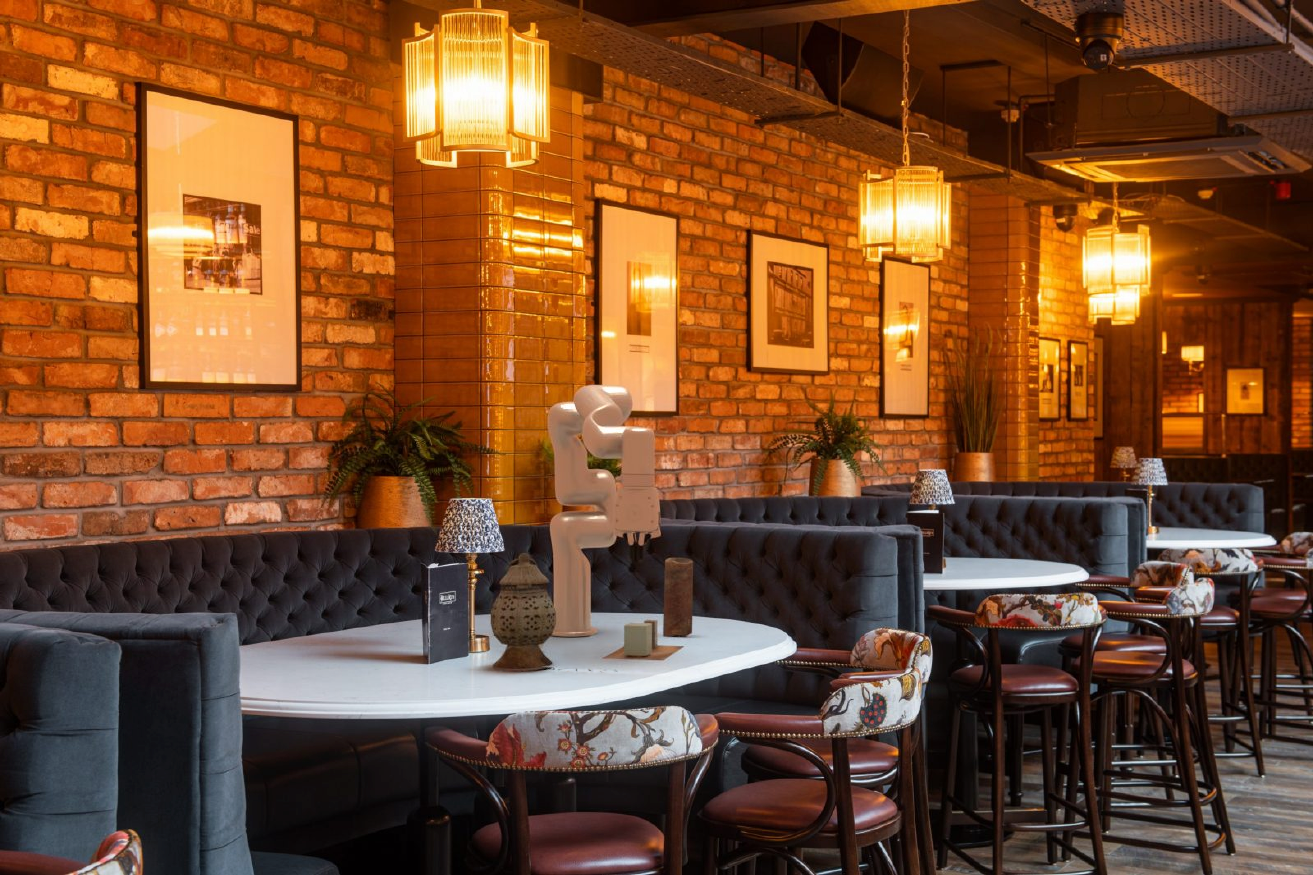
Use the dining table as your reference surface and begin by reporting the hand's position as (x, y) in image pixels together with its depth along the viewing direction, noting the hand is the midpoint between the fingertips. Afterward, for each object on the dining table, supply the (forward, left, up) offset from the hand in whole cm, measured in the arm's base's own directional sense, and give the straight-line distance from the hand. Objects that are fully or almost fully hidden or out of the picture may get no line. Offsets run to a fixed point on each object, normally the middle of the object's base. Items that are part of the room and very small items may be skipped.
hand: (637, 562), depth 313 cm
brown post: (0, +12, -21) cm, 24 cm away
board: (0, +6, -22) cm, 23 cm away
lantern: (-22, -16, -22) cm, 35 cm away
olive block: (0, 0, -21) cm, 21 cm away
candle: (+1, +37, -22) cm, 43 cm away
